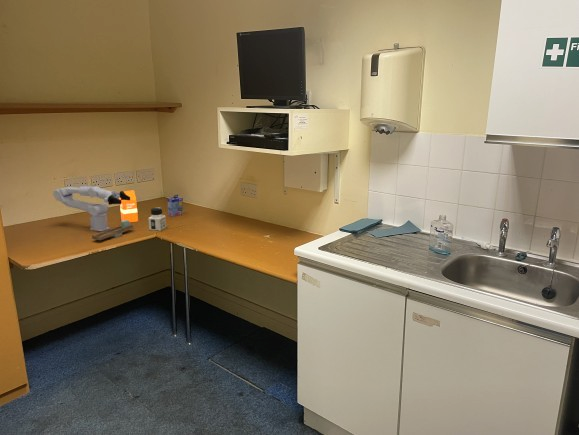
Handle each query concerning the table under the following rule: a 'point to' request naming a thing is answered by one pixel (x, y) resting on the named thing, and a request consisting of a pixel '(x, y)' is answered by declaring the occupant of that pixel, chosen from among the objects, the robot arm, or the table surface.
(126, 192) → the orange juice
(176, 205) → the ink cartridge box
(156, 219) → the container
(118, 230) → the beam
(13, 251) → the table surface
